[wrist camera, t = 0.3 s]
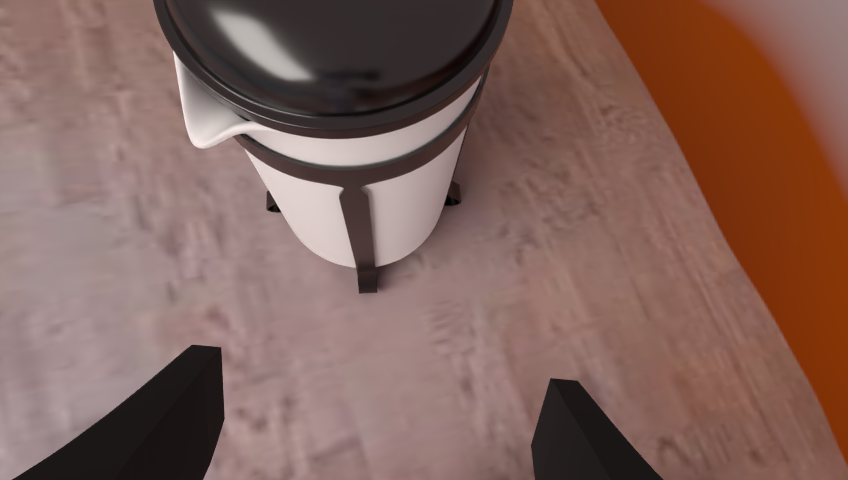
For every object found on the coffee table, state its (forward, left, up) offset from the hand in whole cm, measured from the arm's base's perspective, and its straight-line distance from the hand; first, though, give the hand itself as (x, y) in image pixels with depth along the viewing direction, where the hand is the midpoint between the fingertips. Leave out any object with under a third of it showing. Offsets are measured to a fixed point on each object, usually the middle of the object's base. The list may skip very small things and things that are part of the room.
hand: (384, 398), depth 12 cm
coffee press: (+16, +3, -29) cm, 33 cm away
